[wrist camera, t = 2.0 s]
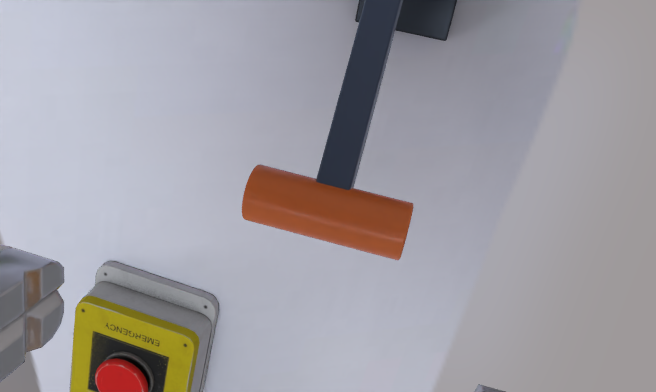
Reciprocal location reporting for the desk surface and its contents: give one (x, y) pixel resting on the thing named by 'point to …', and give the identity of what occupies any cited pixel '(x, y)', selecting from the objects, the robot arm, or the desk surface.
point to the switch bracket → (422, 17)
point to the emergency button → (141, 334)
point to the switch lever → (341, 161)
